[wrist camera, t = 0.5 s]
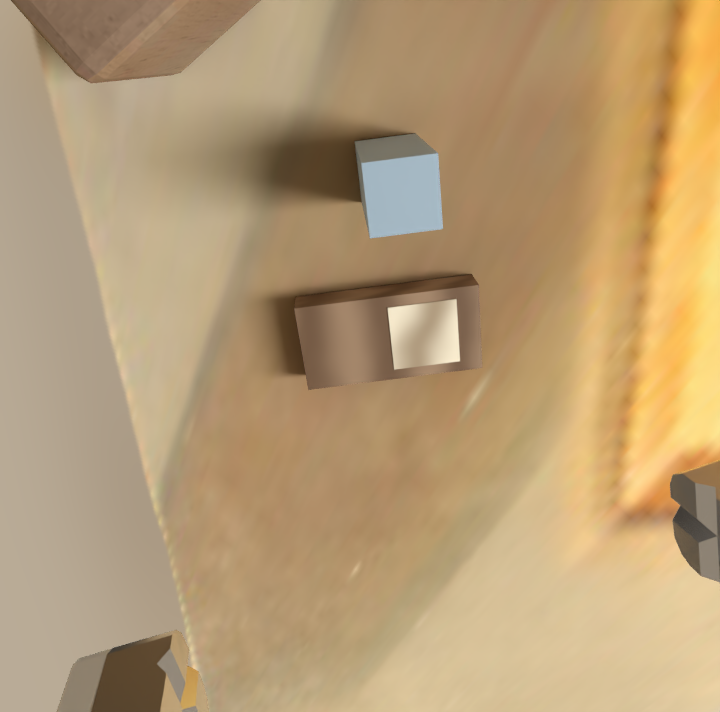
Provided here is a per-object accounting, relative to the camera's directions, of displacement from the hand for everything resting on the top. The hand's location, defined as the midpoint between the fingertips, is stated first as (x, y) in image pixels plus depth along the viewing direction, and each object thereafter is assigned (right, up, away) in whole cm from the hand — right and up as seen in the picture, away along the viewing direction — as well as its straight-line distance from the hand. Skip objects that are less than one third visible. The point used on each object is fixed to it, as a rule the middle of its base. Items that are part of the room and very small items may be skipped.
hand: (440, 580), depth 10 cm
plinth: (+1, +6, +49) cm, 49 cm away
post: (+1, +19, +43) cm, 47 cm away
